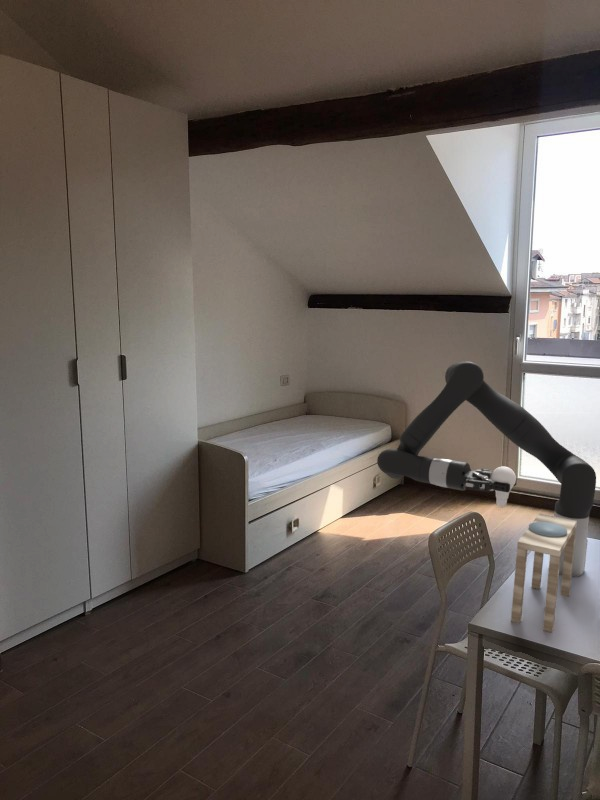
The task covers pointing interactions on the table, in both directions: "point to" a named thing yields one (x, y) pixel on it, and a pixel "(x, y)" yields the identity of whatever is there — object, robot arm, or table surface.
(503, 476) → the lightbulb
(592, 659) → the table surface
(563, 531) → the stool
